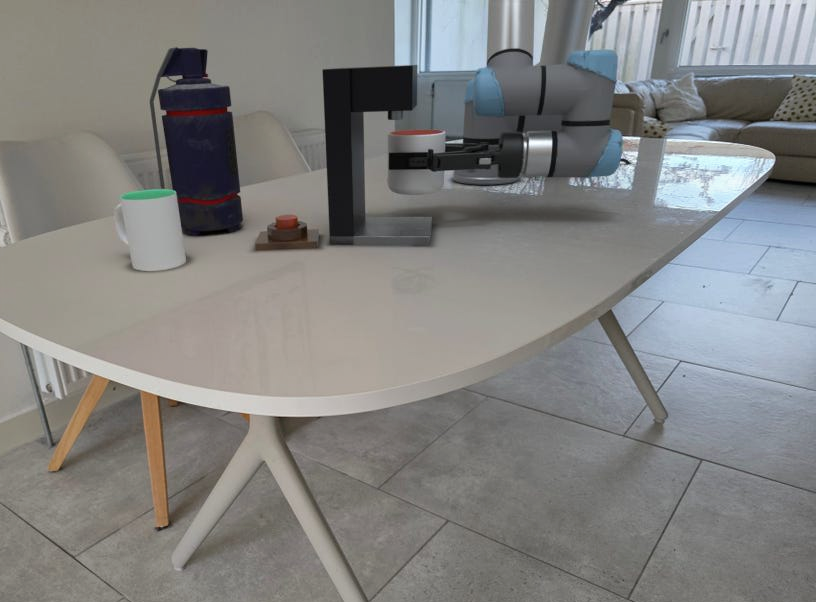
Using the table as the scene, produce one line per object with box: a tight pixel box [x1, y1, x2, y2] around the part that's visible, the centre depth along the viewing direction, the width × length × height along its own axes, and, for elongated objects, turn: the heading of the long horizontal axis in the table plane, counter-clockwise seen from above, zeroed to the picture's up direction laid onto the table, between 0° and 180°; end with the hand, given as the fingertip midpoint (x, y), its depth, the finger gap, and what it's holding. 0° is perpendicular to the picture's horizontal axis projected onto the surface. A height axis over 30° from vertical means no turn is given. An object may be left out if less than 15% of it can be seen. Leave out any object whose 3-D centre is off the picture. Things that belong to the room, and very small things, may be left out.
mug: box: [113, 188, 187, 272], centre depth 94 cm, size 12×8×10 cm
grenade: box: [149, 46, 244, 237], centre depth 108 cm, size 14×12×30 cm
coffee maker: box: [322, 64, 433, 247], centre depth 100 cm, size 16×14×26 cm
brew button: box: [275, 214, 299, 229], centre depth 102 cm, size 4×4×2 cm
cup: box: [387, 129, 447, 196], centre depth 109 cm, size 10×10×10 cm
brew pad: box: [254, 220, 320, 252], centre depth 102 cm, size 10×8×3 cm
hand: (392, 156), depth 110 cm, fingers closed on cup, 10 cm apart
